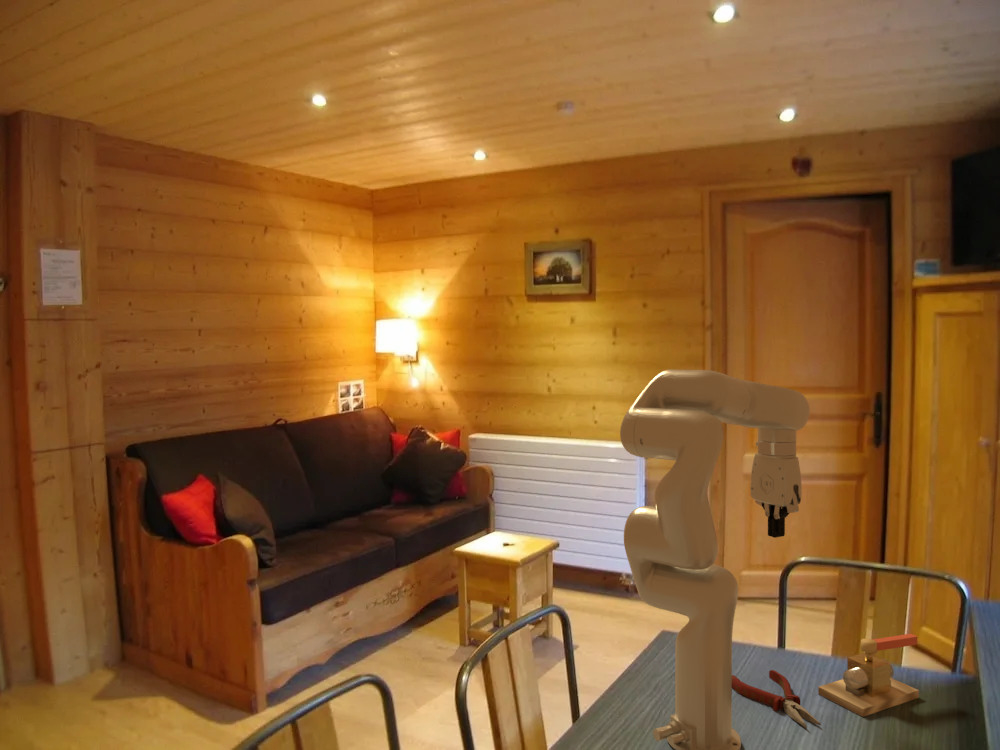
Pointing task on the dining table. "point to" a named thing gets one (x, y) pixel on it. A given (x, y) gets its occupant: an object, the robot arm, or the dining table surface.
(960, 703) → the dining table surface
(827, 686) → the mounting board
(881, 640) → the valve lever
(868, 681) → the valve body
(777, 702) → the pliers
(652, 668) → the dining table surface
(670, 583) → the robot arm
